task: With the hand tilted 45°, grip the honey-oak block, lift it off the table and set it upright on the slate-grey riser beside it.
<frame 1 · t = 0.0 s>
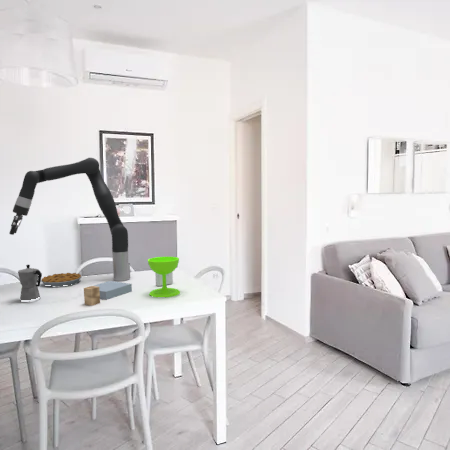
hand: (12, 233, 215), 31 cm above the table, tool tilted 20°, fingers open, 8 cm apart
wineglass: (164, 293, 204), on the table
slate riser: (108, 293, 206), on the table
oak block: (92, 303, 188), on the table
pie: (62, 284, 232), on the table
coffeepot: (31, 300, 196), on the table
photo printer: (164, 285, 223), on the table
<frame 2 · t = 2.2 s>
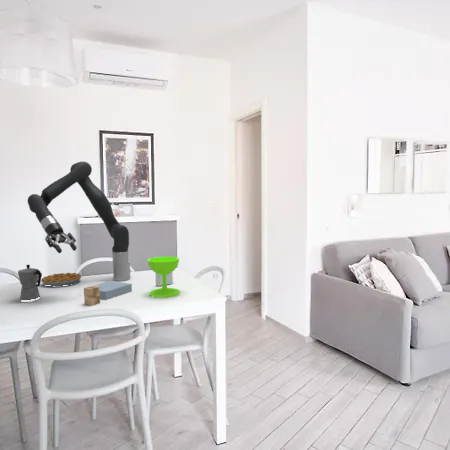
hand: (68, 250, 193), 25 cm above the table, tool tilted 45°, fingers open, 8 cm apart
nothing on the table moved.
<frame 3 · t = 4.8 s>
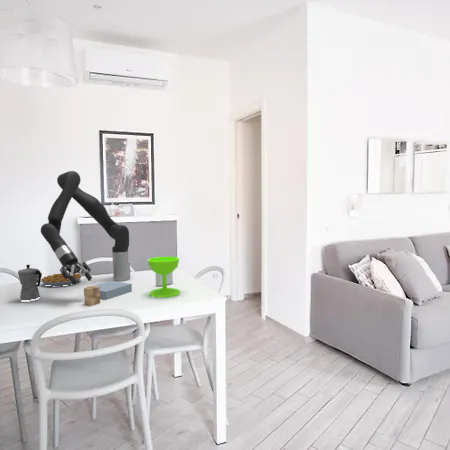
hand: (83, 281, 189), 10 cm above the table, tool tilted 45°, fingers open, 8 cm apart
nothing on the table moved.
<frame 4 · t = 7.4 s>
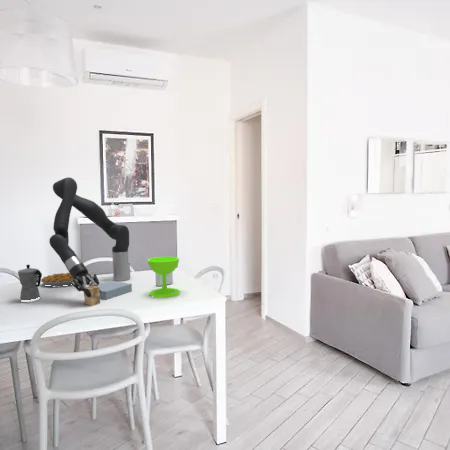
hand: (94, 294, 187), 5 cm above the table, tool tilted 45°, fingers closed on oak block, 5 cm apart
oak block: (92, 303, 188), on the table, touching gripper
everything else where it was.
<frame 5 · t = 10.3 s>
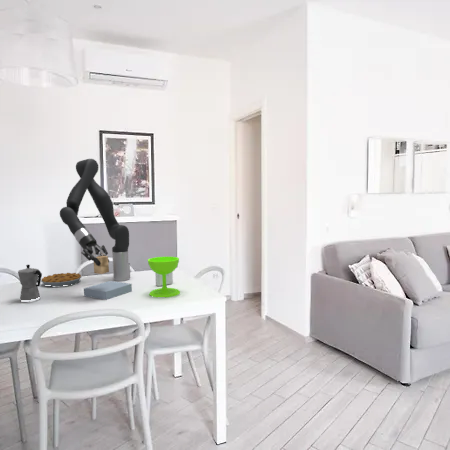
hand: (103, 263, 195), 18 cm above the table, tool tilted 45°, fingers closed on oak block, 5 cm apart
oak block: (101, 272, 197), point 13 cm above the table, touching gripper
everything else where it was.
when the fingers open (10 cm above the table, at t = 13.4 s): oak block drops 1 cm, resting on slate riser.
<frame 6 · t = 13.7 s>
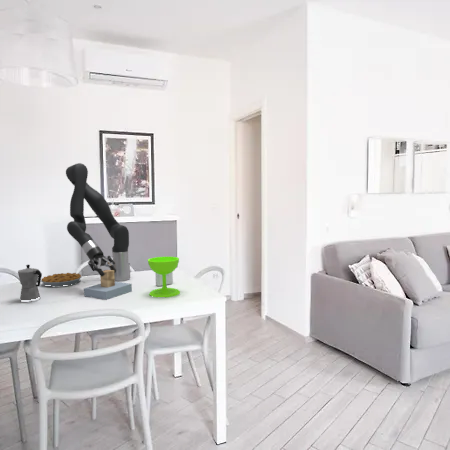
hand: (109, 273, 204), 11 cm above the table, tool tilted 45°, fingers open, 8 cm apart
oak block: (107, 286, 206), point 4 cm above the table, touching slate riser
everything else where it was.
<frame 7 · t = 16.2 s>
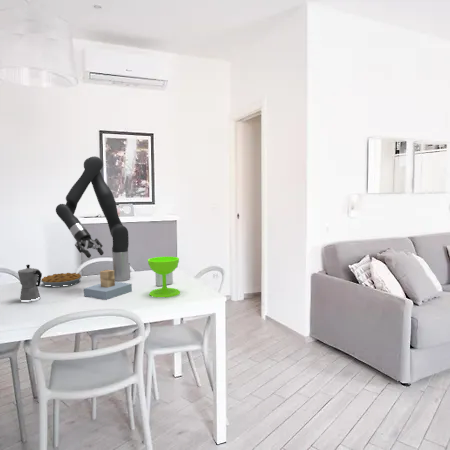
hand: (96, 255, 208), 20 cm above the table, tool tilted 45°, fingers open, 8 cm apart
nothing on the table moved.
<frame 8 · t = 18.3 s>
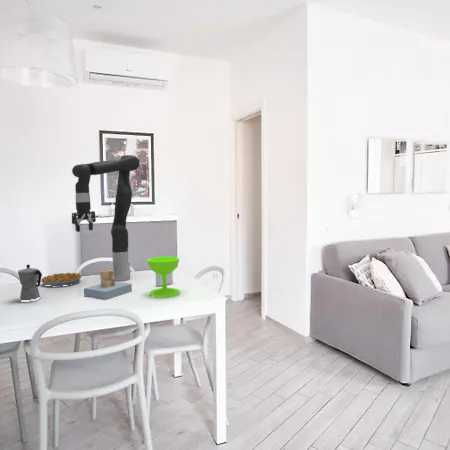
hand: (84, 230, 215), 32 cm above the table, tool pointing down, fingers open, 8 cm apart
nothing on the table moved.
at the end: oak block inside the target area on the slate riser (0.1 cm from its centre), point 4.0 cm above the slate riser's base; oak block tilted 0°; the gripper is holding nothing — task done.
